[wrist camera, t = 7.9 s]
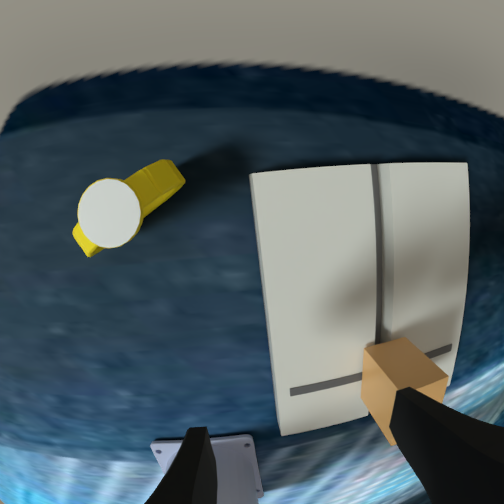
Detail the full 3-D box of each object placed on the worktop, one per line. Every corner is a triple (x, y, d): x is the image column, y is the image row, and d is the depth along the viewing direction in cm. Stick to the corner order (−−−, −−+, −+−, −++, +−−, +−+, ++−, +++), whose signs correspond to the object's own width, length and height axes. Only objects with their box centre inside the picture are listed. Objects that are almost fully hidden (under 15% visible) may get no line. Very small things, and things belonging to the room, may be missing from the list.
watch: (167, 154, 17) (151, 134, 11) (195, 193, 17) (192, 191, 12) (88, 219, 17) (42, 229, 11) (115, 256, 17) (79, 283, 12)
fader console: (437, 373, 22) (450, 386, 20) (276, 418, 21) (281, 437, 19) (448, 163, 18) (468, 162, 16) (248, 174, 17) (252, 173, 15)
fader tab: (389, 374, 20) (434, 428, 14) (352, 384, 20) (391, 446, 14) (393, 326, 19) (448, 376, 13) (354, 336, 19) (402, 394, 13)
